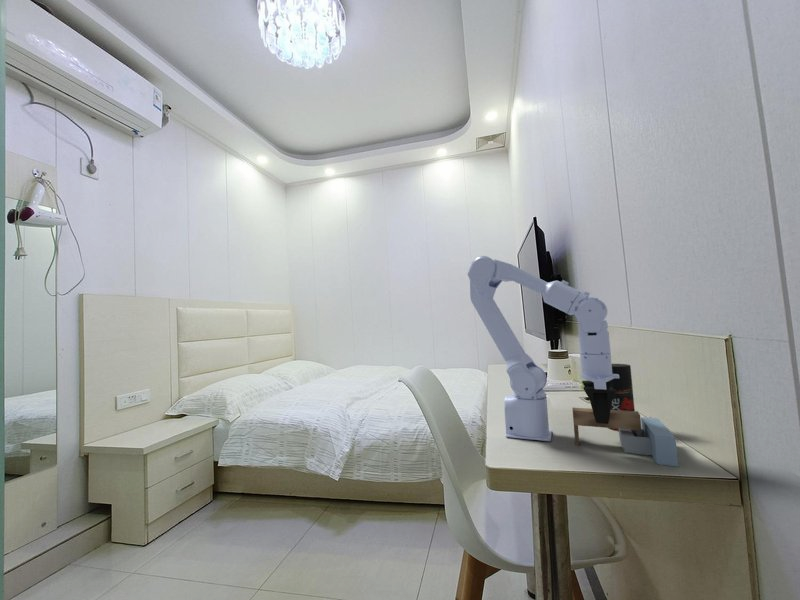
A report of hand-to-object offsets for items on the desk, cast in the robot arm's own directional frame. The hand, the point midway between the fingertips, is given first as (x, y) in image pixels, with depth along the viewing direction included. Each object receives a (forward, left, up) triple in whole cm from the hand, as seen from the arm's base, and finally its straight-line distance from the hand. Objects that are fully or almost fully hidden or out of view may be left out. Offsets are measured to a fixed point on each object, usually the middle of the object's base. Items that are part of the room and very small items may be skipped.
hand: (600, 418), depth 72 cm
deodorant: (+5, +14, -6) cm, 16 cm away
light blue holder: (+7, -2, -5) cm, 9 cm away
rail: (+1, 0, -5) cm, 5 cm away
